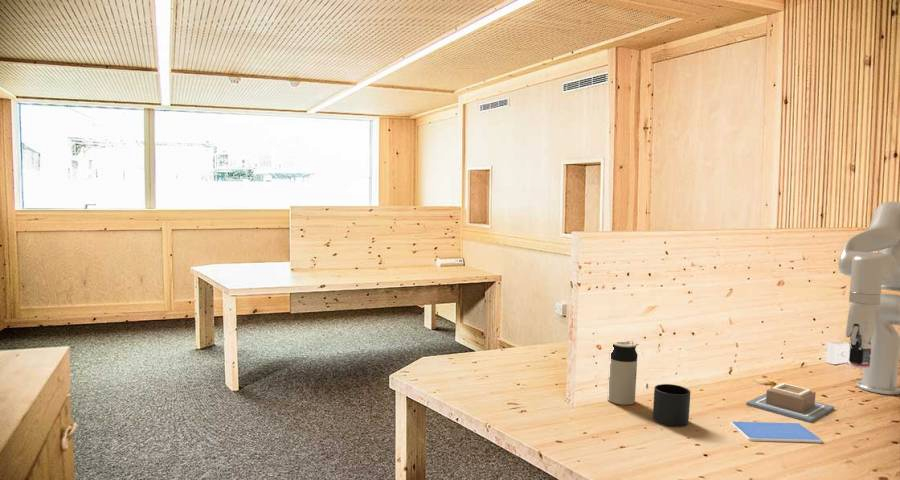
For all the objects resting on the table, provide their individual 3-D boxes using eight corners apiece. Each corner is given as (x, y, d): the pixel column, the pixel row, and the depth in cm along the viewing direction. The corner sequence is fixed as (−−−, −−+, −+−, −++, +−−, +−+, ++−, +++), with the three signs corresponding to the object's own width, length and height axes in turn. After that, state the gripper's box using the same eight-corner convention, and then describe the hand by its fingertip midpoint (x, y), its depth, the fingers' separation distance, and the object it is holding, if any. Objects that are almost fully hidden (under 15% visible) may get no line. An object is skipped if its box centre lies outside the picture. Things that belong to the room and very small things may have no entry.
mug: (678, 412, 189) (680, 381, 188) (693, 427, 177) (695, 395, 176) (645, 411, 189) (647, 380, 188) (658, 427, 177) (660, 394, 176)
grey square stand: (772, 393, 209) (773, 375, 208) (834, 409, 195) (835, 390, 195) (746, 404, 197) (747, 386, 196) (810, 422, 183) (812, 403, 183)
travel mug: (605, 403, 195) (608, 343, 193) (609, 395, 202) (612, 338, 201) (633, 407, 192) (636, 347, 190) (636, 399, 199) (639, 341, 198)
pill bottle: (872, 369, 185) (875, 338, 184) (852, 368, 186) (855, 337, 185) (865, 364, 190) (867, 334, 189) (845, 362, 191) (847, 333, 190)
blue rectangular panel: (748, 443, 169) (748, 438, 169) (728, 424, 182) (729, 420, 181) (824, 445, 169) (824, 440, 169) (798, 427, 181) (799, 422, 181)
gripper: (860, 293, 195) (855, 352, 197) (839, 300, 183) (834, 363, 185) (889, 297, 189) (883, 358, 191) (869, 304, 178) (864, 369, 180)
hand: (859, 360), depth 188 cm, fingers closed on pill bottle, 5 cm apart
